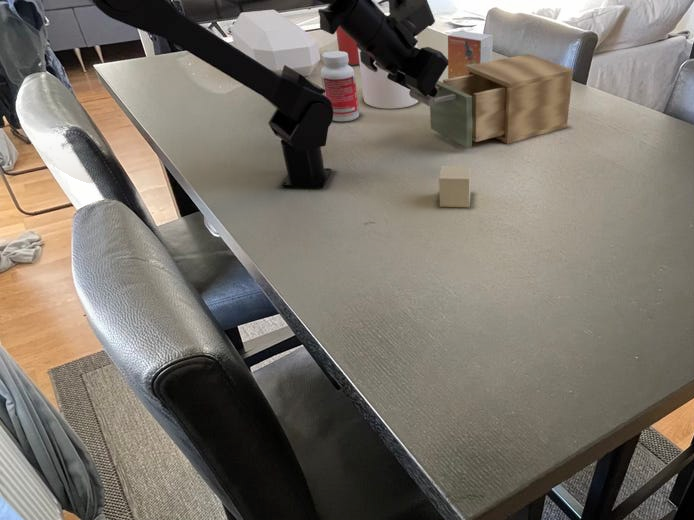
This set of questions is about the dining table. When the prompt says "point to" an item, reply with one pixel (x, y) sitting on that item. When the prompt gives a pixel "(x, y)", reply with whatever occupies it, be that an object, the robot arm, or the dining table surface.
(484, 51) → the small box
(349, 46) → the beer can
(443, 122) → the drawer
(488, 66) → the cabinet
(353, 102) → the pill bottle
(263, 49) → the crystal
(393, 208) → the dining table surface
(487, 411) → the dining table surface
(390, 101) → the cup
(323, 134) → the robot arm
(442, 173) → the block
